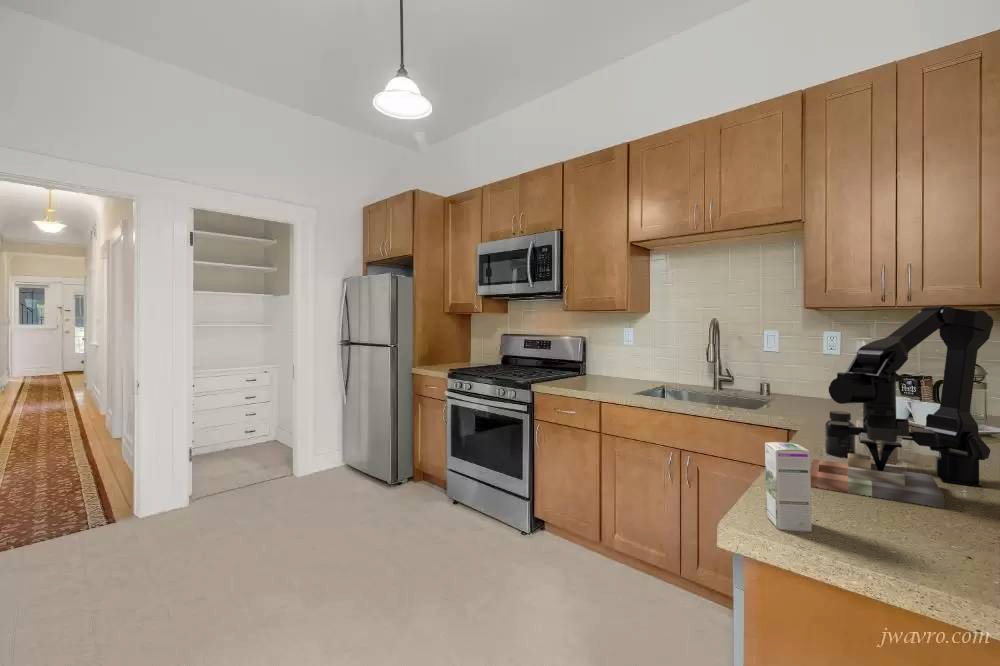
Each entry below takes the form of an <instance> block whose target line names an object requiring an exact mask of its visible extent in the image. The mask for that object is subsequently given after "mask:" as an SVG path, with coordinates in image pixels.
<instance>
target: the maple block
mask: <svg viewBox="0 0 1000 666" xmlns="http://www.w3.org/2000/svg"><path fill="white" fill-rule="evenodd" d="M847 464H848V467H854V468H861V469H869V470H871V458H870V456H867V455H862V454H856V453H855V454H851V453H848V458H847Z"/></svg>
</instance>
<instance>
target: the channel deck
mask: <svg viewBox="0 0 1000 666" xmlns="http://www.w3.org/2000/svg"><path fill="white" fill-rule="evenodd" d="M810 477H811V488H815V487H818V488H817V489H821V488H824V489H823V490H827V489H829V491H833V490H835V491H834V492H839V491H841V492H840V493H845V492H846V493H845V494H851V493H852V494H851V495H857V494H858V496H863V495H865V496H864V497H869V496H871V497H870V498H875V497H877V499H881V498H884V499H883V500H887V499H890V500H889V501H894V500H897V501H896V502H900V501H902V503H906V502H909V503H908V504H912V503H915V504H914V505H918V504H922V505H921V506H924V505H928V506H927V507H930V506H933V507H932V508H936V507H939V508H938V509H942V508H943V509H944V510H945V495H944V493H943V491H942V490H941V488H940V487H939V486H938V483H937V482H936V480H935V479H934V477H933V475H932V474H927V473H919V472H912V471H905V470H904V471H903V470H902V466H901V465H897V464H896V465H891V464H886V465H885V467H884V470H883V471H878V469H877V467H876V464H875V462H871V470H869V469H861V468H854V467H848V463H847V462H846V463H844V462H838V461H831V460H830V461H829V460H823V459H815V458H814V459H813V458H812V460H811V464H810Z"/></svg>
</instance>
